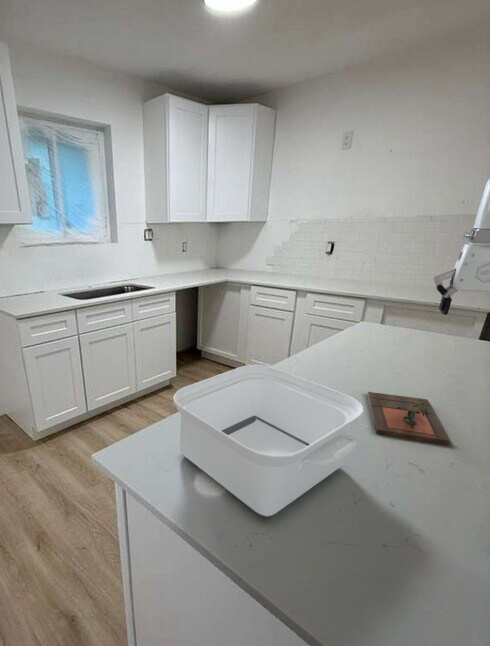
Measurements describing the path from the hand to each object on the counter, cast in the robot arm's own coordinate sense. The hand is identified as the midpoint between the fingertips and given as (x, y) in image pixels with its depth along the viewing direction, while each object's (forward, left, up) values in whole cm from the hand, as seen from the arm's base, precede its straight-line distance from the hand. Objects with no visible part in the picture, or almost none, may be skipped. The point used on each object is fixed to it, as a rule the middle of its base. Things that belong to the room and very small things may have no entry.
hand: (468, 314), depth 85 cm
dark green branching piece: (+10, +14, -23) cm, 29 cm away
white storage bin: (+41, +40, -24) cm, 62 cm away
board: (+10, +10, -24) cm, 28 cm away
